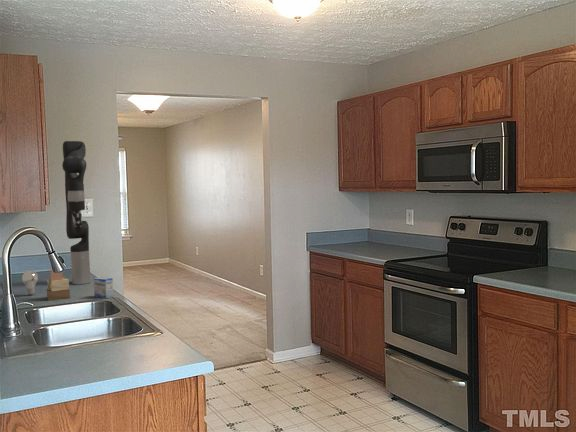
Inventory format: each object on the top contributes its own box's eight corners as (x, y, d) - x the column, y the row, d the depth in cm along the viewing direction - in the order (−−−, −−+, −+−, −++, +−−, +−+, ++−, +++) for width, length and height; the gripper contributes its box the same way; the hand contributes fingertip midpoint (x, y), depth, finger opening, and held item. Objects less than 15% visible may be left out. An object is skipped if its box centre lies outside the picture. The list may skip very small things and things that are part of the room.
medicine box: (94, 297, 256) (93, 278, 256) (101, 295, 260) (100, 276, 260) (106, 298, 253) (105, 279, 252) (113, 296, 256) (112, 277, 256)
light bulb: (35, 293, 270) (34, 268, 270) (41, 294, 265) (39, 270, 265) (20, 295, 265) (19, 270, 265) (26, 297, 261) (24, 271, 260)
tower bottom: (47, 298, 258) (46, 288, 258) (67, 295, 263) (67, 286, 262) (48, 301, 250) (48, 291, 250) (70, 299, 255) (69, 289, 254)
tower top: (47, 289, 257) (47, 279, 257) (64, 286, 261) (63, 277, 261) (52, 291, 251) (51, 281, 251) (69, 289, 255) (68, 279, 255)
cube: (50, 279, 257) (50, 268, 257) (62, 278, 259) (61, 267, 259) (51, 280, 253) (50, 269, 252) (63, 279, 255) (62, 268, 255)
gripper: (66, 200, 268) (68, 233, 269) (68, 201, 255) (70, 236, 256) (83, 199, 271) (84, 232, 273) (85, 200, 258) (87, 235, 260)
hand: (77, 234), depth 264 cm, fingers open, 8 cm apart
